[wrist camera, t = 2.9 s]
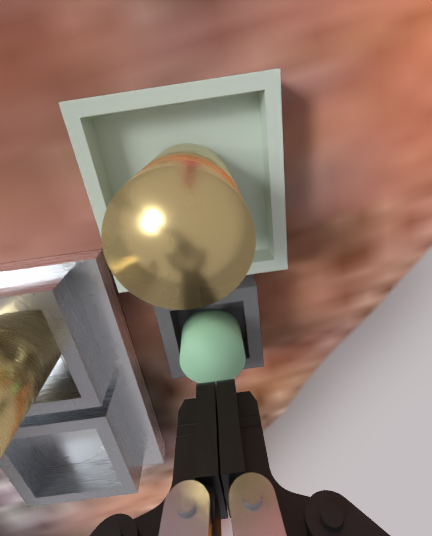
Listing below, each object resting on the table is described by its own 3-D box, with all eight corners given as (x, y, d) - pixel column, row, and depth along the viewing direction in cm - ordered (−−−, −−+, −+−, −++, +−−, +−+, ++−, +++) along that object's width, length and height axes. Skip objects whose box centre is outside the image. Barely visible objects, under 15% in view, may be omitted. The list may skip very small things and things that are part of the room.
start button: (176, 312, 15) (173, 338, 14) (237, 304, 15) (242, 329, 14) (187, 359, 17) (185, 388, 15) (243, 351, 17) (248, 380, 15)
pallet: (-85, 276, 16) (-146, 310, 14) (102, 249, 16) (81, 277, 13) (33, 463, 23) (9, 512, 20) (165, 446, 23) (160, 493, 20)
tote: (77, 104, 13) (58, 102, 11) (269, 74, 13) (280, 68, 11) (127, 274, 17) (118, 292, 15) (278, 252, 17) (287, 269, 15)
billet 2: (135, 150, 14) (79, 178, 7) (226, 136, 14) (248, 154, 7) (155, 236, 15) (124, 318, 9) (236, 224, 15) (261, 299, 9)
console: (158, 276, 17) (151, 300, 15) (249, 263, 17) (256, 286, 15) (175, 347, 19) (172, 378, 17) (256, 336, 19) (263, 366, 17)
